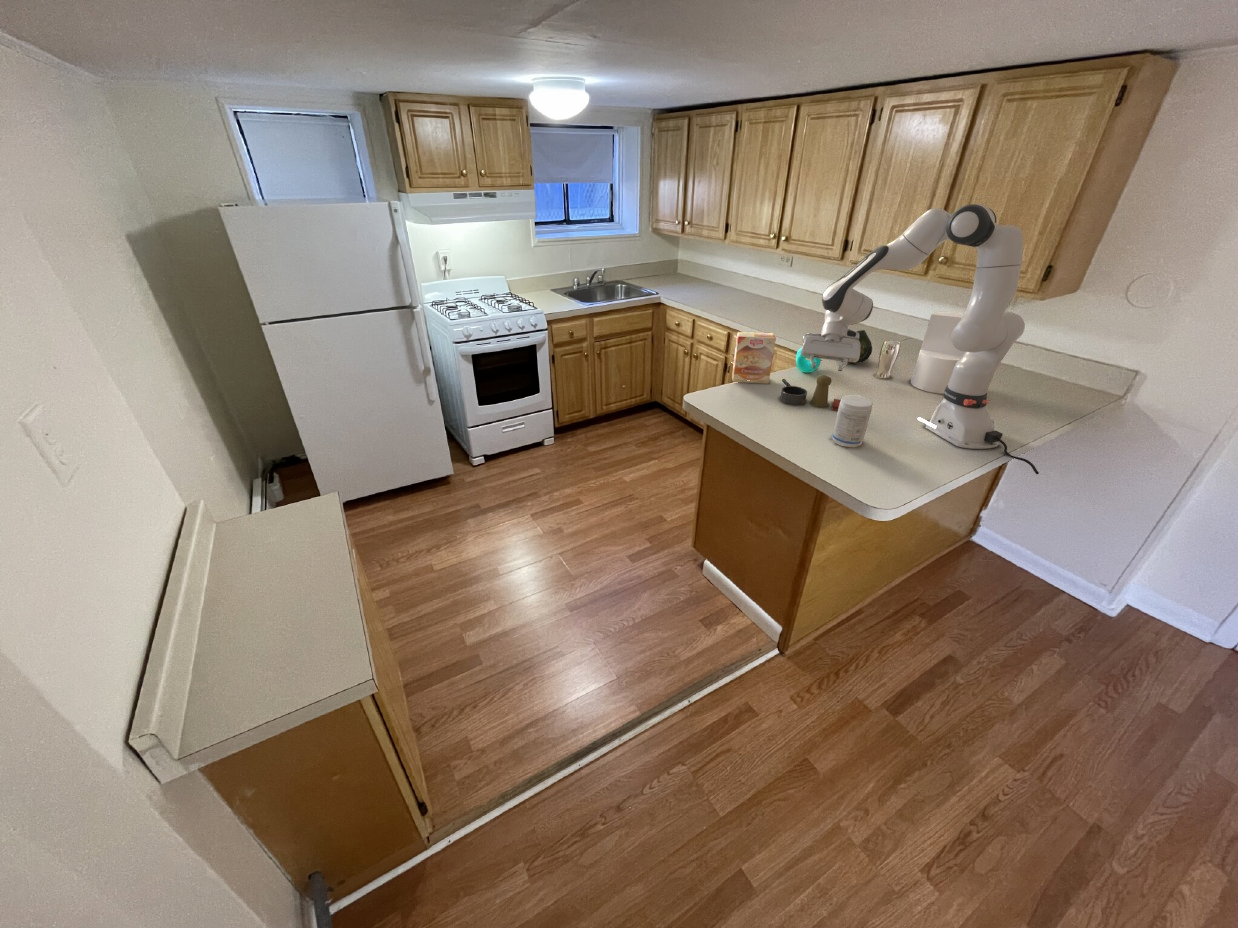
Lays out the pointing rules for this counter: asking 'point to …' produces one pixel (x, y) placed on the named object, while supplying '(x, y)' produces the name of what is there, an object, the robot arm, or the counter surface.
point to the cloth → (836, 404)
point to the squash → (864, 347)
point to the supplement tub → (852, 420)
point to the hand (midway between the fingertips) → (826, 369)
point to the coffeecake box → (753, 357)
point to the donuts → (806, 362)
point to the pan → (793, 395)
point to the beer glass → (887, 358)
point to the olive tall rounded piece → (821, 391)
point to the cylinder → (937, 353)
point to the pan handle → (785, 382)
